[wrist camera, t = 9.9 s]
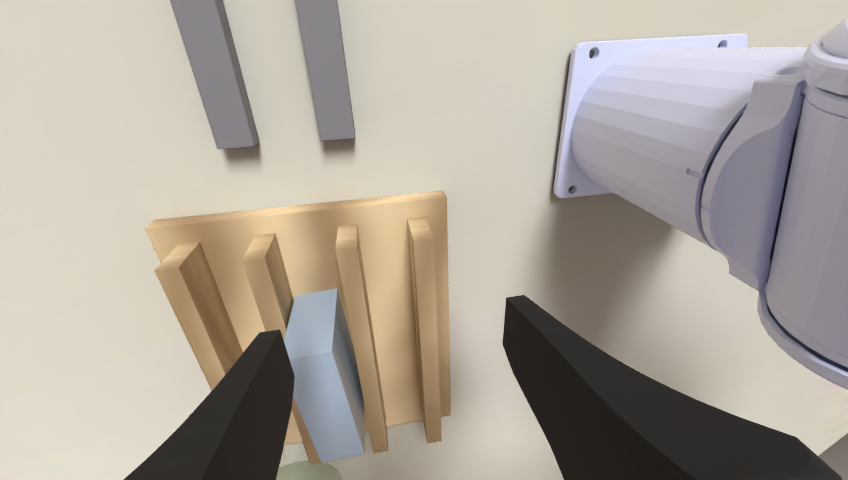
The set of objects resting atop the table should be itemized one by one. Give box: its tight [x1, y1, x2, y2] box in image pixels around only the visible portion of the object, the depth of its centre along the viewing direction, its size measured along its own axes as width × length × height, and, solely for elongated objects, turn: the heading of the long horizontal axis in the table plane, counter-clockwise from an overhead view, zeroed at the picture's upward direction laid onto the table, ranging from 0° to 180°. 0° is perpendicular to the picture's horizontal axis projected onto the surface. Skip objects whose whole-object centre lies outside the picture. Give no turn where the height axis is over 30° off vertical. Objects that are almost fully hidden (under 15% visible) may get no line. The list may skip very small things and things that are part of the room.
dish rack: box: [145, 191, 450, 465], centre depth 22 cm, size 15×18×4 cm
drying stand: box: [170, 0, 355, 149], centre depth 15 cm, size 6×9×1 cm
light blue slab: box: [284, 288, 365, 463], centre depth 20 cm, size 2×8×5 cm, turn 6°
